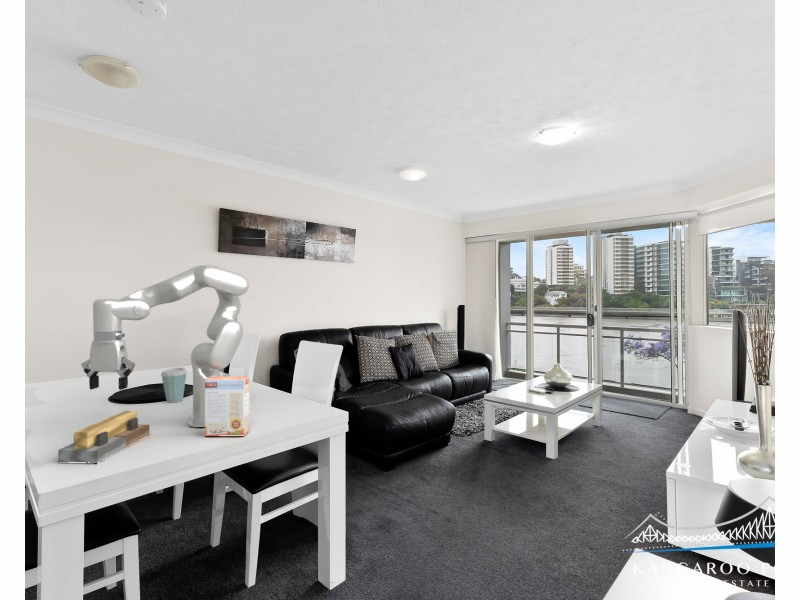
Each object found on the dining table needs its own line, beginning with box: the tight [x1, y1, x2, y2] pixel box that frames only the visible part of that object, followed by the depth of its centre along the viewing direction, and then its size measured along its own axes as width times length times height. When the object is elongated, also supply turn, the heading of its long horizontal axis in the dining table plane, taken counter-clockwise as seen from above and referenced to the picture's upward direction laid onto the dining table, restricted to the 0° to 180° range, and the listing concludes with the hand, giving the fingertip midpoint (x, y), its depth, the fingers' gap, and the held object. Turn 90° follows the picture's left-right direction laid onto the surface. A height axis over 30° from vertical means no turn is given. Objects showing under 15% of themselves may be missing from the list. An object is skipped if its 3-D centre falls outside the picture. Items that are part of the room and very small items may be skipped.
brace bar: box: [73, 410, 138, 449], centre depth 133 cm, size 4×22×5 cm, turn 178°
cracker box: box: [204, 376, 250, 436], centre depth 147 cm, size 14×6×21 cm, turn 92°
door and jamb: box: [57, 417, 151, 463], centre depth 133 cm, size 12×24×8 cm, turn 178°
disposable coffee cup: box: [160, 367, 188, 403], centre depth 190 cm, size 11×11×15 cm
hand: (108, 388), depth 133 cm, fingers open, 9 cm apart
